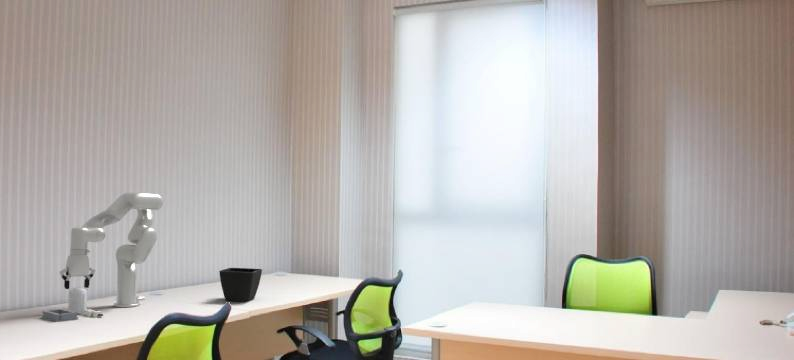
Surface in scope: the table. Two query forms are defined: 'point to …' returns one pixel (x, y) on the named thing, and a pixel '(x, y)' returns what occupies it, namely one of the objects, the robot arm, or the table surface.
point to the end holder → (59, 315)
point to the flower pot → (240, 283)
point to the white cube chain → (93, 313)
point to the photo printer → (77, 300)
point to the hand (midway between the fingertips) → (76, 288)
